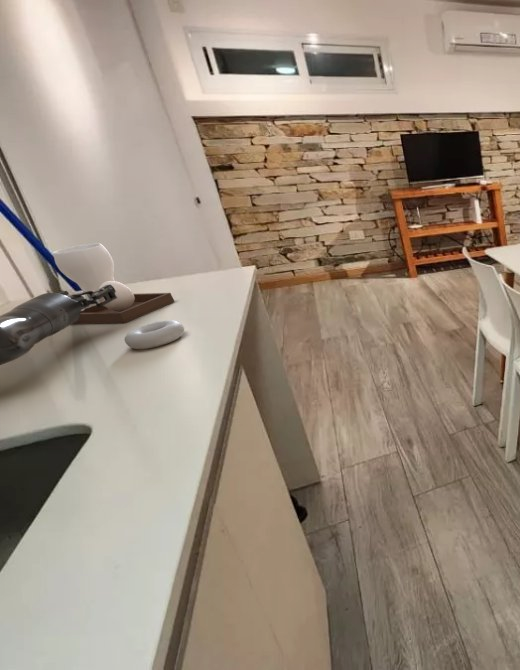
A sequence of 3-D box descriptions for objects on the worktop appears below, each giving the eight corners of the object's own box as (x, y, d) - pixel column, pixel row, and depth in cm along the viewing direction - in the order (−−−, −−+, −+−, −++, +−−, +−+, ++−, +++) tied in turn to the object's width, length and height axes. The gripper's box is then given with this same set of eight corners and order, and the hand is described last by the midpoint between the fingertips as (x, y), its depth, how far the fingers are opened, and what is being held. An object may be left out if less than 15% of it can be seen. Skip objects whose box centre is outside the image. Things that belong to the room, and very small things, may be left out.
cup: (132, 290, 139) (106, 240, 133) (130, 299, 132) (102, 247, 125) (83, 301, 133) (53, 249, 127) (78, 311, 126) (46, 256, 119)
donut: (140, 356, 98) (195, 335, 105) (131, 341, 96) (188, 321, 104) (122, 347, 103) (175, 328, 110) (113, 333, 101) (168, 314, 109)
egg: (141, 308, 122) (126, 279, 119) (108, 317, 118) (91, 287, 115) (138, 303, 126) (123, 275, 123) (106, 311, 122) (89, 282, 119)
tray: (70, 323, 118) (64, 314, 116) (124, 302, 130) (120, 294, 129) (125, 322, 116) (119, 313, 115) (174, 301, 128) (170, 292, 127)
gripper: (75, 293, 99) (117, 271, 112) (-12, 306, 95) (42, 281, 109) (95, 326, 102) (133, 300, 116) (11, 339, 98) (61, 311, 112)
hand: (89, 291), depth 112 cm, fingers open, 8 cm apart
